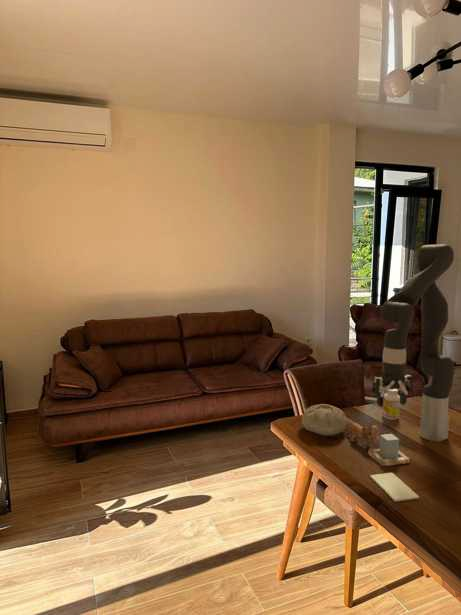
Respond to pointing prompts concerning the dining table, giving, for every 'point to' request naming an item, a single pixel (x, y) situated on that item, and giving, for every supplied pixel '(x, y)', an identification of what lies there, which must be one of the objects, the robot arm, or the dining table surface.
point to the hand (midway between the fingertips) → (391, 405)
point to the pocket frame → (384, 462)
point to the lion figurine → (364, 433)
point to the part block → (388, 446)
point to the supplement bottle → (391, 404)
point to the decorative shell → (324, 420)
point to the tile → (394, 487)
